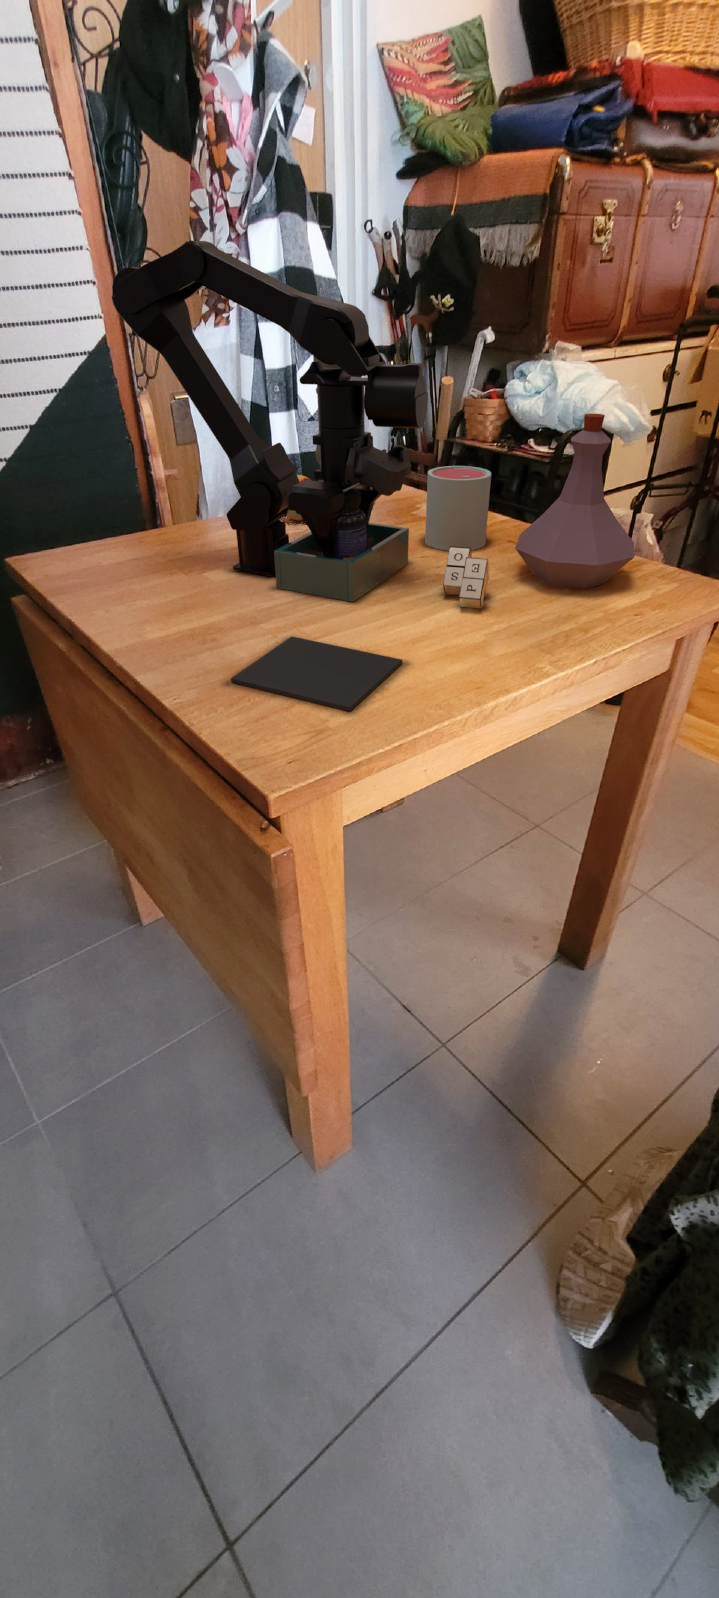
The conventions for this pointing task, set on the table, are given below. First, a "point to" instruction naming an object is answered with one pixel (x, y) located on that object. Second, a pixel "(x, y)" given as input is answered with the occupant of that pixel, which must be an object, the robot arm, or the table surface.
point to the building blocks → (466, 577)
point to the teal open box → (341, 564)
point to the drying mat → (318, 673)
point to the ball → (293, 514)
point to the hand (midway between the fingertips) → (344, 551)
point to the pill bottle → (351, 528)
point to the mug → (457, 507)
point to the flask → (578, 523)
